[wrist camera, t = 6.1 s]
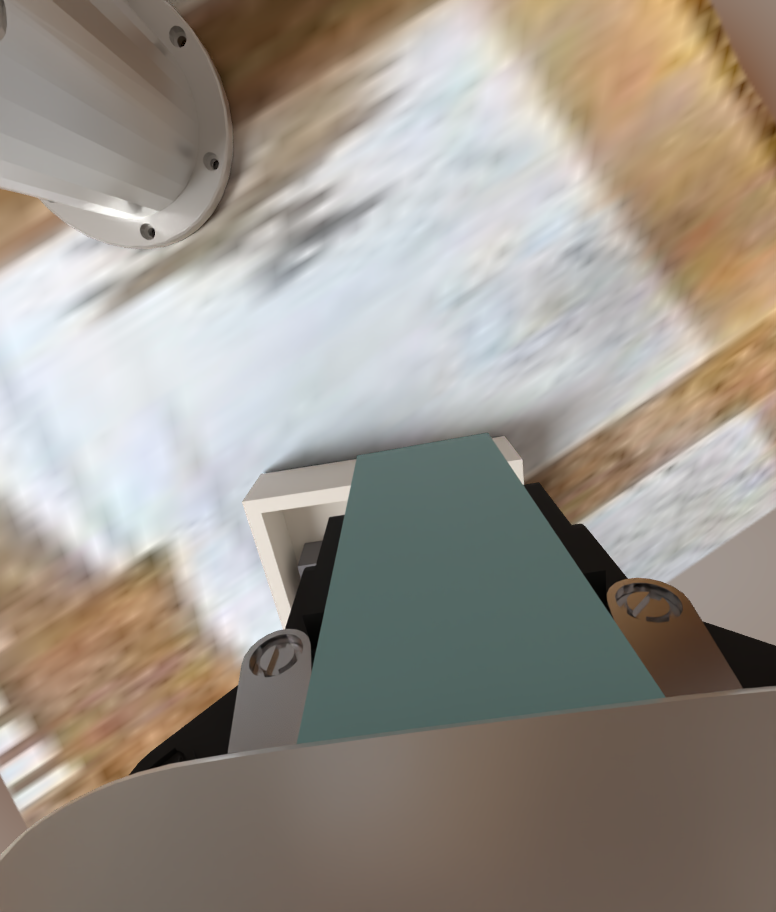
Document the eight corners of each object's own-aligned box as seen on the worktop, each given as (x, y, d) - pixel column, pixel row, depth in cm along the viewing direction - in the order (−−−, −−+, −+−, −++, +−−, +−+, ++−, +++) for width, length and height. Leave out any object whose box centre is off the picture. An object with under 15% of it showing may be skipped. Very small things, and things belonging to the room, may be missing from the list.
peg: (357, 455, 14) (286, 790, 5) (487, 432, 14) (695, 741, 4) (382, 564, 15) (367, 985, 6) (500, 546, 15) (676, 960, 6)
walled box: (261, 473, 32) (241, 501, 28) (504, 436, 31) (522, 459, 27) (315, 656, 39) (306, 701, 34) (518, 630, 38) (535, 673, 33)
